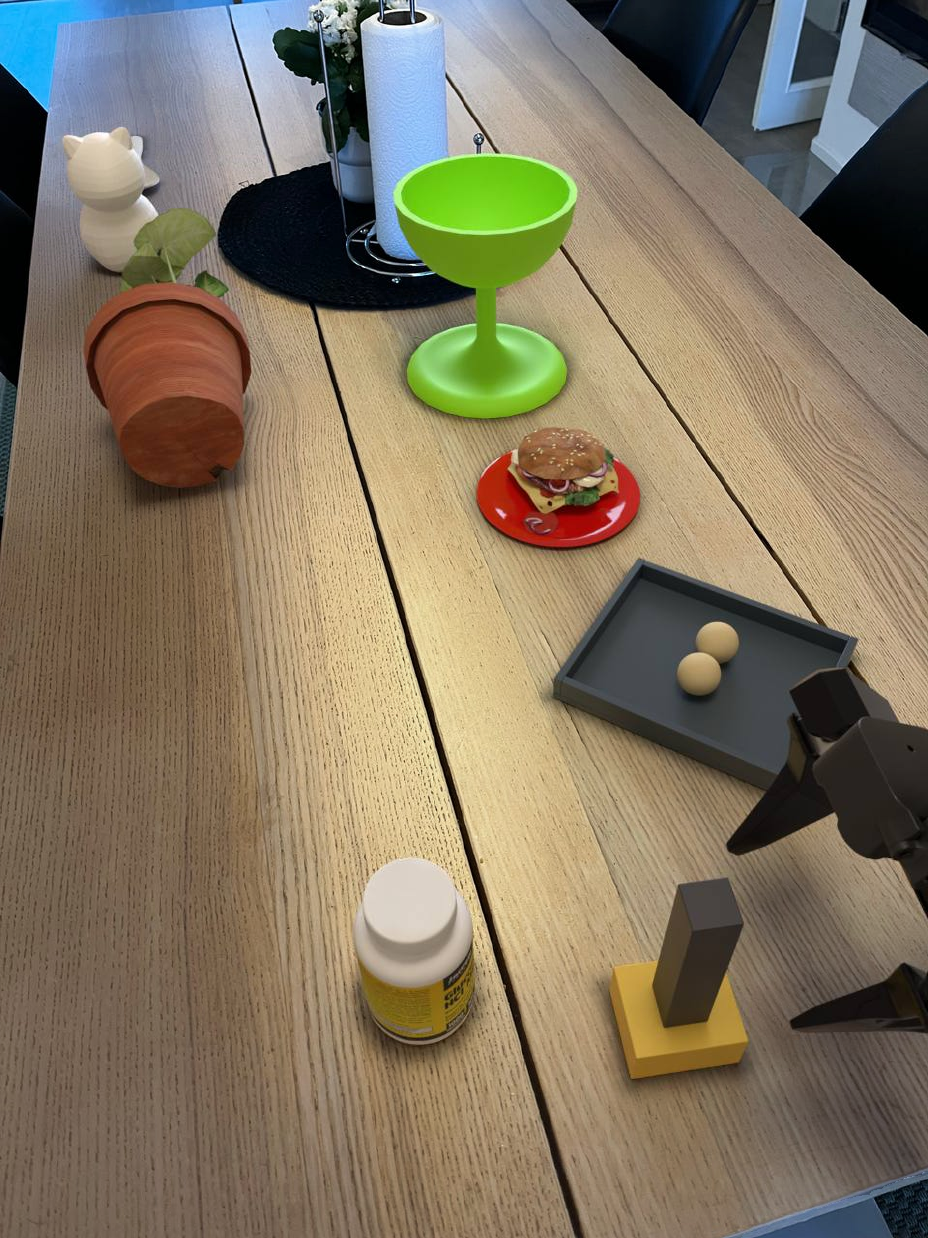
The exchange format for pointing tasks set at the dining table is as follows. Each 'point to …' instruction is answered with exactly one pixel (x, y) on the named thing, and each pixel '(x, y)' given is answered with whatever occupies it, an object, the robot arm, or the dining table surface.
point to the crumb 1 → (718, 641)
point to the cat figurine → (108, 194)
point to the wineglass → (486, 276)
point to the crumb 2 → (699, 674)
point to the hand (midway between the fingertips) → (760, 933)
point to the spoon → (150, 176)
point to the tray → (666, 633)
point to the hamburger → (558, 490)
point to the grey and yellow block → (684, 989)
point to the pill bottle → (415, 951)
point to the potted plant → (171, 359)
